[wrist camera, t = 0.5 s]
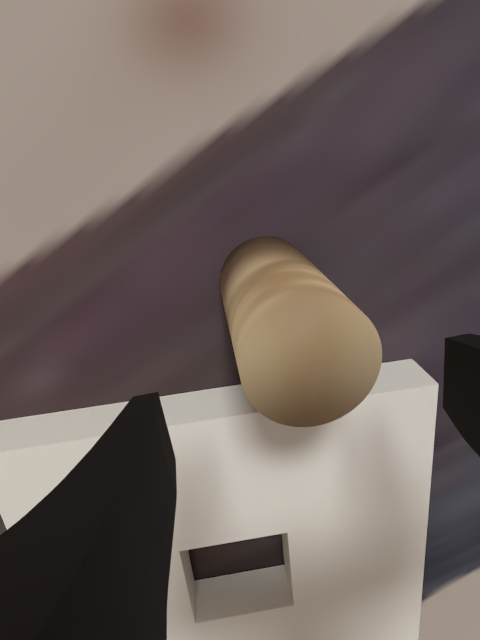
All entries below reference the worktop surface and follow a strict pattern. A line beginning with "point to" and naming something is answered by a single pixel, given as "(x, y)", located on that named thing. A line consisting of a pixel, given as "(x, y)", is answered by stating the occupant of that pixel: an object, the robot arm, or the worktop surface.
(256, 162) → the worktop surface
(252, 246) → the maple dowel
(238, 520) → the holder board
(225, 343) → the worktop surface
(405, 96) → the worktop surface
